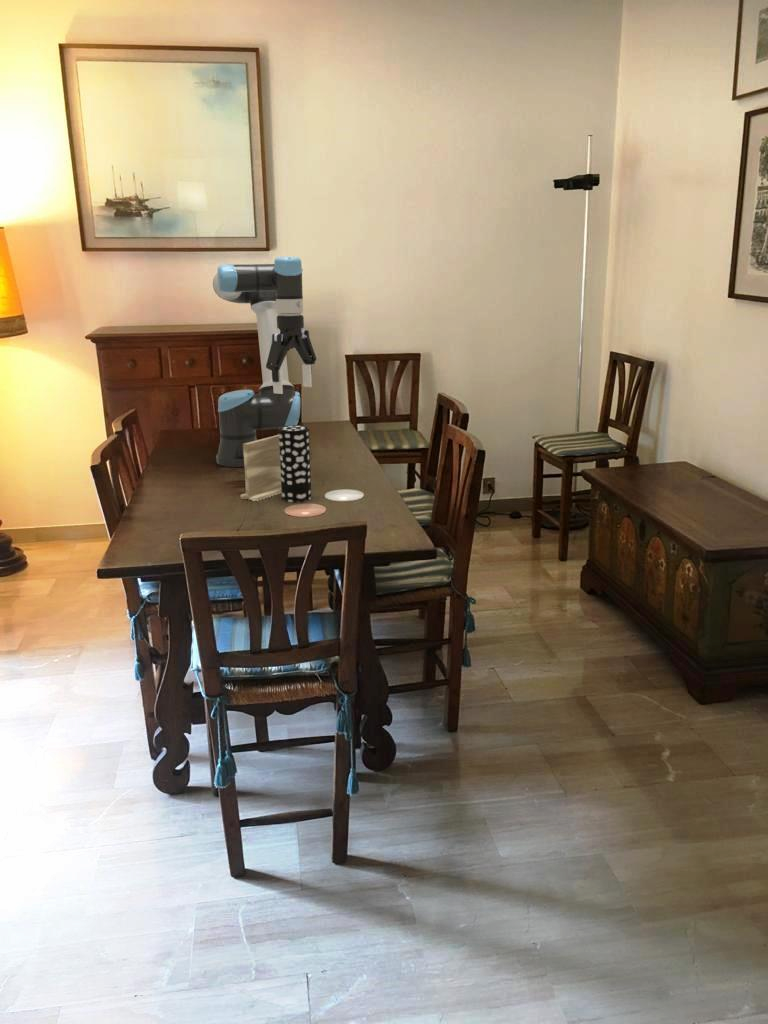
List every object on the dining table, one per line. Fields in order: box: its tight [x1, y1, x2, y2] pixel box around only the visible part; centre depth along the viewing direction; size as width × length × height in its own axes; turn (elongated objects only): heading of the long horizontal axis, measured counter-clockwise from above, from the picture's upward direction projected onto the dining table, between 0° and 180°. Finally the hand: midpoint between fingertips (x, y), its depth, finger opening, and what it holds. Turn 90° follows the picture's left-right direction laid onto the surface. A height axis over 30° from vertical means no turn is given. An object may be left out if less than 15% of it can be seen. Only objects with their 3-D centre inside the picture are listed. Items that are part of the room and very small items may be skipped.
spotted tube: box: [278, 424, 312, 503], centre depth 226 cm, size 8×8×20 cm
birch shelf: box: [240, 434, 282, 502], centre depth 232 cm, size 6×18×16 cm, turn 145°
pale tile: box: [324, 488, 365, 503], centre depth 231 cm, size 11×11×1 cm
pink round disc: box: [284, 503, 327, 518], centre depth 218 cm, size 11×11×1 cm
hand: (293, 390), depth 235 cm, fingers open, 13 cm apart
